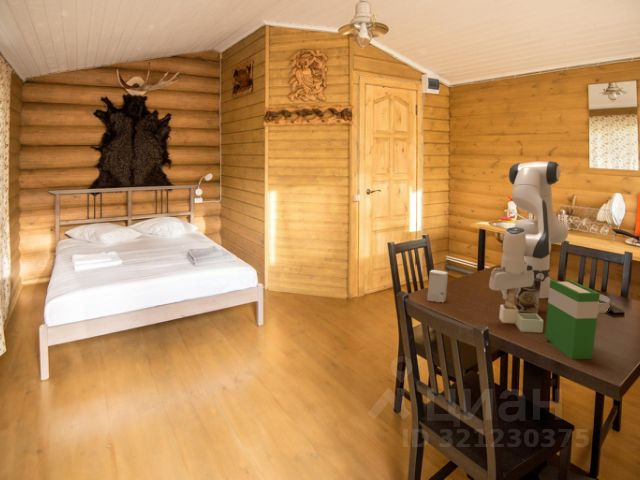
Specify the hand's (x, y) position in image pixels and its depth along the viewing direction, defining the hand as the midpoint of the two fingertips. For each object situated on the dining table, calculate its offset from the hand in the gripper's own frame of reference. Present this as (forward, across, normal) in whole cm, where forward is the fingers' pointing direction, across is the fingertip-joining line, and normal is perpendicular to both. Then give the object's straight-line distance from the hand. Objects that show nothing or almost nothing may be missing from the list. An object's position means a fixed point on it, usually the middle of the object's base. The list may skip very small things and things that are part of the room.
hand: (510, 298), depth 188 cm
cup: (+11, 0, 0) cm, 11 cm away
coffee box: (+11, +17, +8) cm, 22 cm away
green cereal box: (+11, +2, -28) cm, 31 cm away
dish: (+12, +49, +8) cm, 51 cm away
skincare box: (+11, -12, +36) cm, 40 cm away
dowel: (+9, 0, 0) cm, 9 cm away
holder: (+11, +2, -10) cm, 15 cm away
